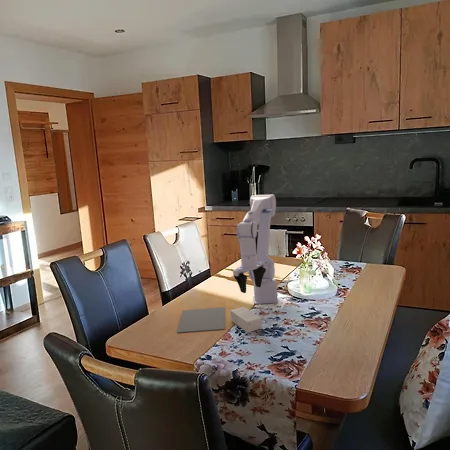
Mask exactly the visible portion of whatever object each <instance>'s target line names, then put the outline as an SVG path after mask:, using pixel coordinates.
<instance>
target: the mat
mask: <svg viewBox="0 0 450 450" xmlns="http://www.w3.org/2000/svg"><path fill="white" fill-rule="evenodd" d="M225 322H226V307H225V306H224V307H223V306H222V307H211V308H209V307H208V308H198V309H196V308H195V309H184V310H183V309H182V312H181V315H180V319H179V323H178V327H177V330H176V331H177V332H176V333H177V334H181V333H183V334H184V333H193V332H194V333H195V332H207V331H208V332H209V331H221V330H226V323H225Z"/></svg>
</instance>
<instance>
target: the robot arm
mask: <svg viewBox="0 0 450 450" xmlns="http://www.w3.org/2000/svg"><path fill="white" fill-rule="evenodd" d="M249 206H250V210H248V211H247V212H246V214H245V215H244V217H243V219H242V221H241V222H239V223H237V226H236V237H237V240H238V241H237V242H238V243H239V248H240V262H241V264H240V266H239V267H237V268H235V269H233V270H232V275H233V278H234V280H235V281H236V282H237V285H238V288H239V289H240V292H241V293H243V294H246V293H247V280H248V277H249V278H250V279H251V281H252V282H253V293H254V294H253V303H254V305H261V304H262V305H263V304H276V303H278V302H279V301H278V296H279V295H278V286H277V279H276V278H274V277H275V272H276V271H275V270H276V269H275V262H274V259H272V258H271V257H269V249H270V248H269V247H270V245H269V244H270V233H271V232H270V230H271V220H272V217H274V216H275V215H276V212H277V211H276V210H277V199H276V196H275V194H273V193H272V194H252V195H251V196H250V199H249ZM256 238H257V243H256ZM246 273H248V275H245V274H246Z"/></svg>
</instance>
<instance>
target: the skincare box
mask: <svg viewBox="0 0 450 450" xmlns="http://www.w3.org/2000/svg"><path fill="white" fill-rule="evenodd" d="M230 321H231V322H232V323H234V324H235V325H237V326H238V327H240V328H241V329H242V330H244V331H245V332H246V333H251V332H254V331H257V330H261V329H262V328H263V325H262V324H263V322H262V321H263V318H262V317H261V316H259V315H257V314H256V313H254V312H253V311H251V310H250V309H249V308H246V307H245V306H242V307H239V308H238V307H237V308H235V309H231V310H230Z"/></svg>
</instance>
